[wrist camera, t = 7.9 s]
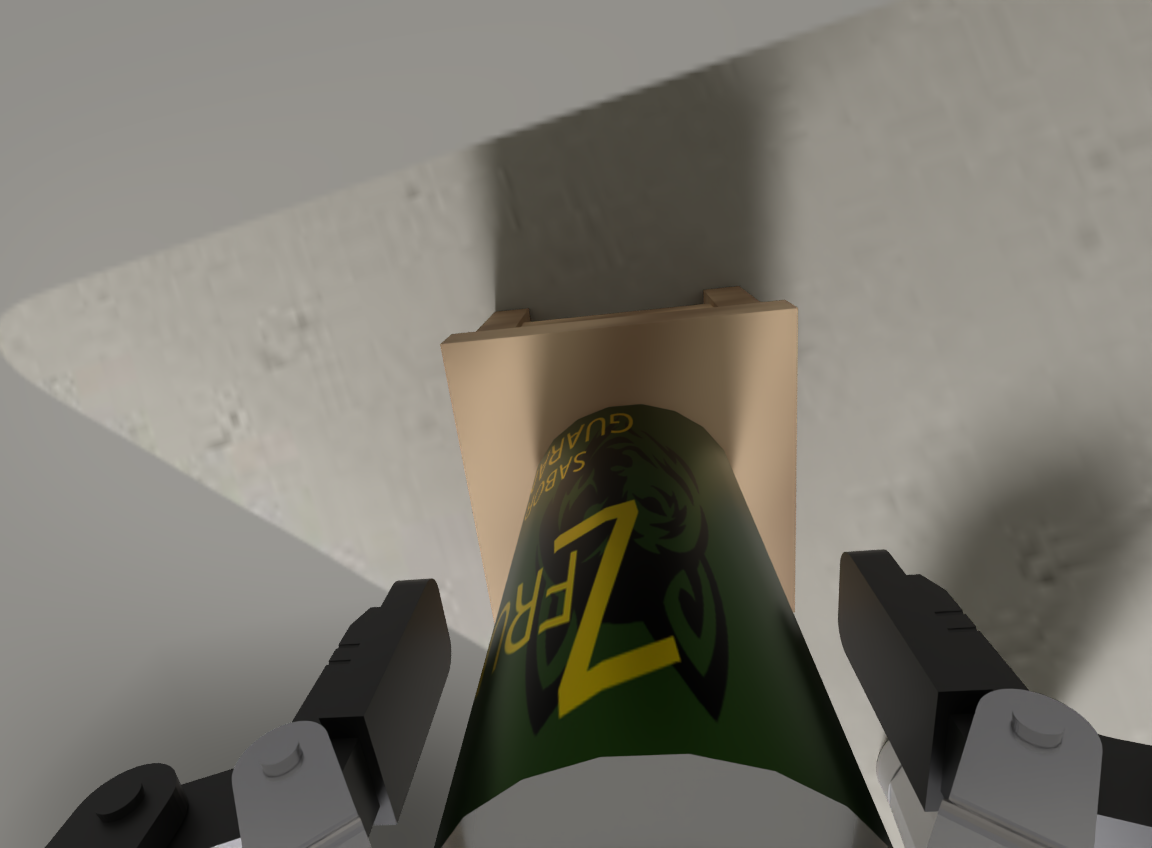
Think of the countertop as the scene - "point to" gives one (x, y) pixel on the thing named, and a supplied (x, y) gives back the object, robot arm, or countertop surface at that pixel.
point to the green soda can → (649, 667)
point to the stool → (628, 403)
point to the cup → (904, 800)
